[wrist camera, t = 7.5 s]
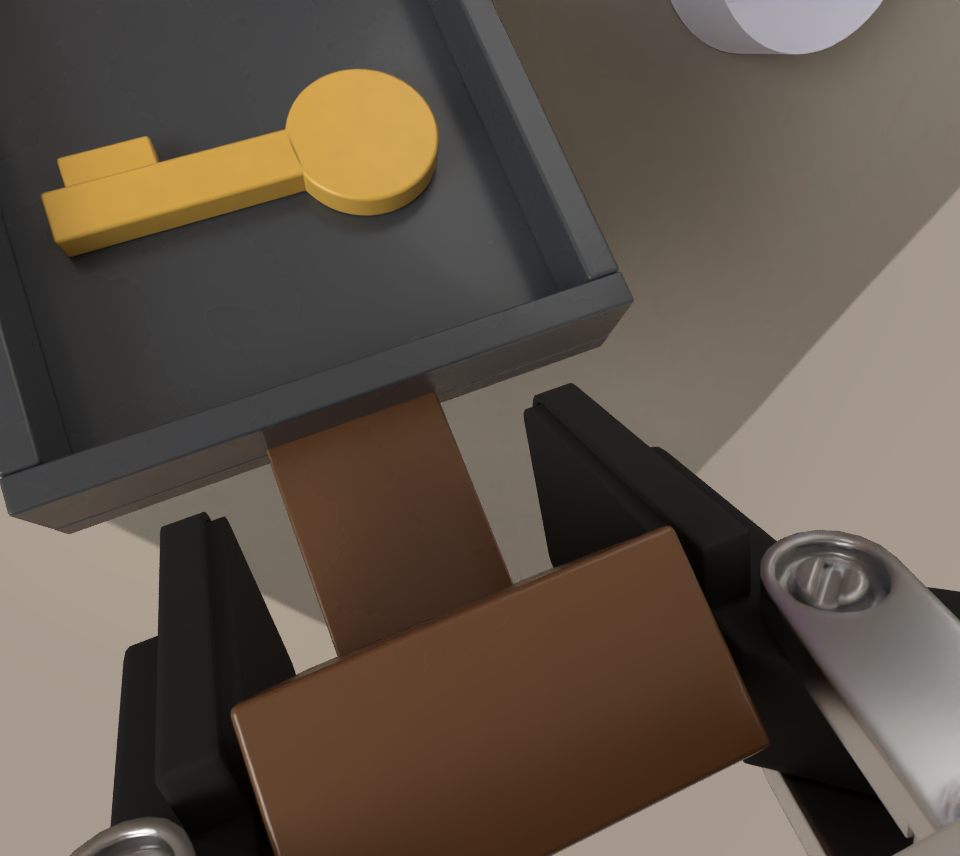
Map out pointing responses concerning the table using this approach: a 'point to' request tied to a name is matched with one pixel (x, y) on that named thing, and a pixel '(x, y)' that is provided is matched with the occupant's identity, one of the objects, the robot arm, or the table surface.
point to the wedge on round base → (773, 23)
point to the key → (257, 166)
